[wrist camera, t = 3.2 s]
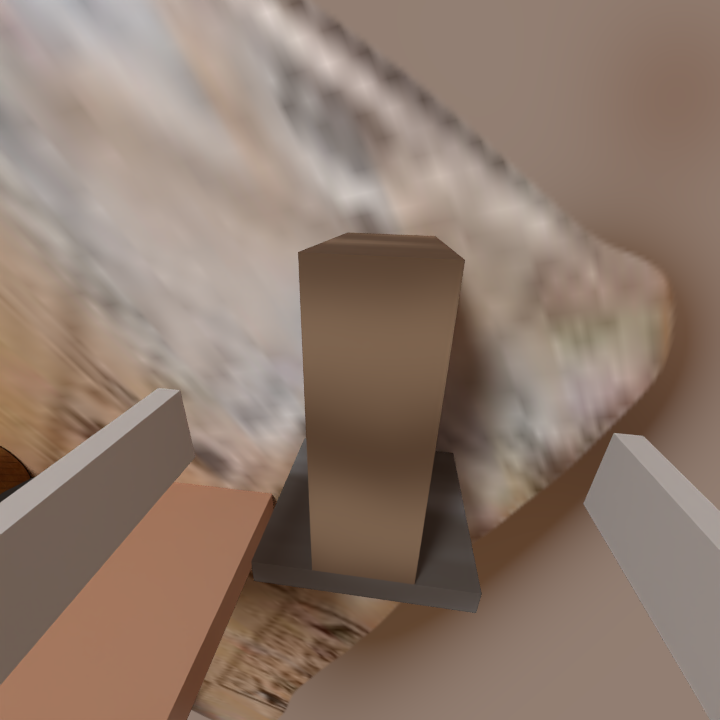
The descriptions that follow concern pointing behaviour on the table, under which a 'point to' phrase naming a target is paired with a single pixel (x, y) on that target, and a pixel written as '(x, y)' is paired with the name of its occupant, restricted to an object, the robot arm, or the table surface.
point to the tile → (146, 615)
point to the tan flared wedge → (374, 430)
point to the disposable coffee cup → (11, 471)
